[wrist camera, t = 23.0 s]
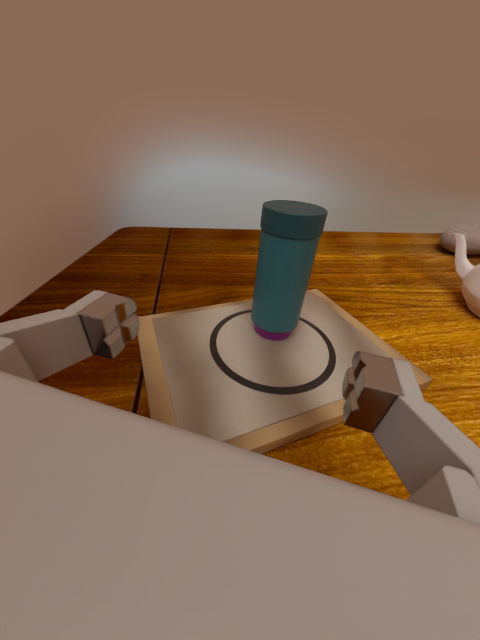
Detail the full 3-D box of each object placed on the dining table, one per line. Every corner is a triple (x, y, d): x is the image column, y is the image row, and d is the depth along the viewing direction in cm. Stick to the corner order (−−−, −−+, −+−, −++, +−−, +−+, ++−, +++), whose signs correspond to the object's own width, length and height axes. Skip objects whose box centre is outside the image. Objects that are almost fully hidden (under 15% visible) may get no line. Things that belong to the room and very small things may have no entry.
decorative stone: (470, 264, 48) (487, 237, 45) (423, 248, 54) (435, 223, 51) (500, 256, 54) (516, 231, 51) (454, 242, 60) (467, 219, 57)
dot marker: (261, 349, 22) (283, 216, 16) (241, 319, 26) (252, 200, 19) (306, 338, 24) (341, 214, 17) (281, 312, 27) (303, 199, 21)
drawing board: (163, 494, 14) (159, 481, 13) (136, 326, 26) (134, 314, 25) (426, 388, 22) (436, 376, 21) (314, 296, 34) (317, 286, 33)
